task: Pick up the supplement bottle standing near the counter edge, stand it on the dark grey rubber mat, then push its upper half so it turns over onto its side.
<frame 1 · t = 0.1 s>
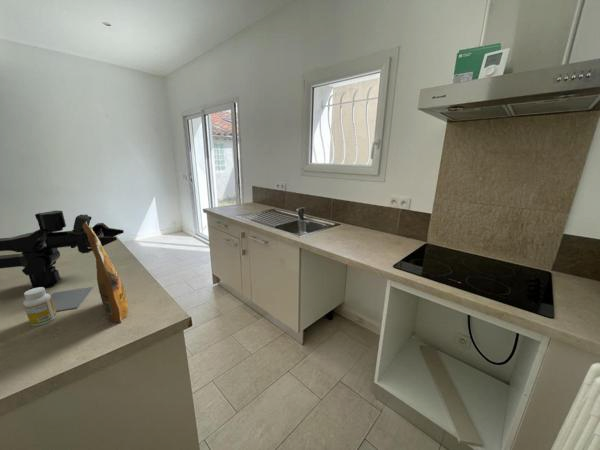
hand: (120, 234, 94), 17 cm above the counter, tool horizontal, fingers open, 9 cm apart
mat: (64, 300, 80), on the counter
supplement bottle: (44, 320, 71), on the counter
pancake mix bag: (115, 310, 76), on the counter
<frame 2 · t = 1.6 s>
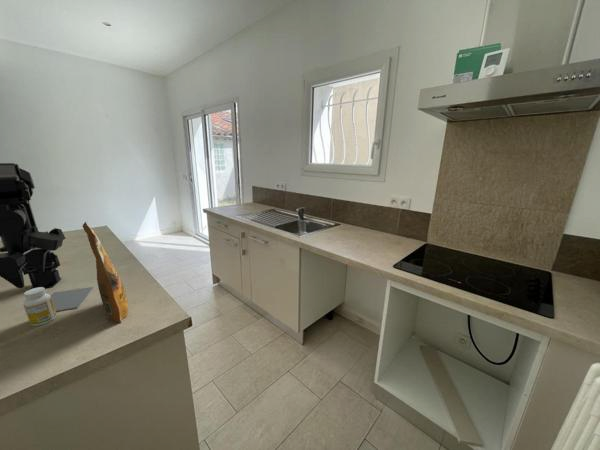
hand: (31, 279, 67), 13 cm above the counter, tool pointing down, fingers open, 9 cm apart
nothing on the counter moved.
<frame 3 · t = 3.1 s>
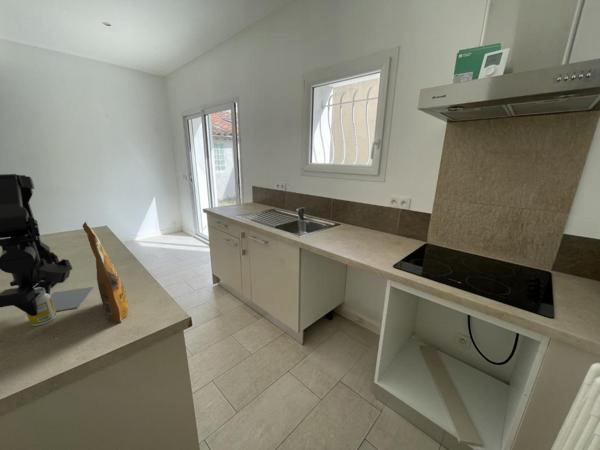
hand: (40, 309, 70), 4 cm above the counter, tool pointing down, fingers closed on supplement bottle, 5 cm apart
supplement bottle: (44, 320, 71), on the counter, touching gripper
everything else where it was.
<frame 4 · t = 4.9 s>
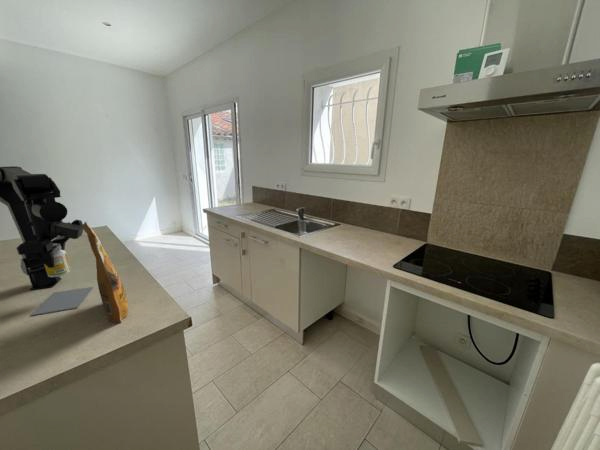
hand: (56, 263, 78), 13 cm above the counter, tool pointing down, fingers closed on supplement bottle, 5 cm apart
supplement bottle: (59, 274, 79), point 9 cm above the counter, touching gripper
everything else where it was.
when the fingers open (5 cm above the counter, at t = 6.7 s): supplement bottle stays where it is, resting on mat.
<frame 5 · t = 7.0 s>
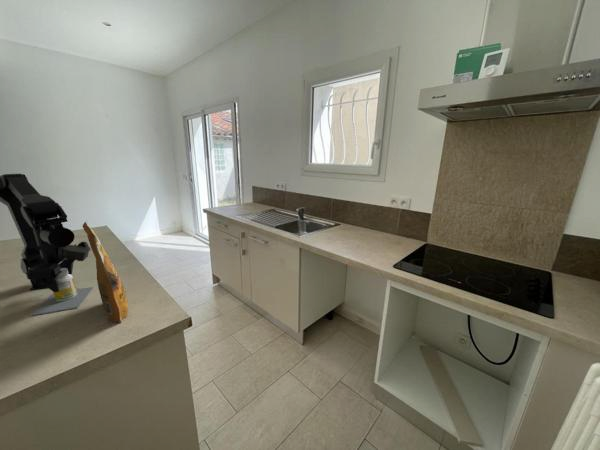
hand: (63, 284, 80), 5 cm above the counter, tool pointing down, fingers open, 8 cm apart
supplement bottle: (67, 297, 81), resting on mat
everything else where it was.
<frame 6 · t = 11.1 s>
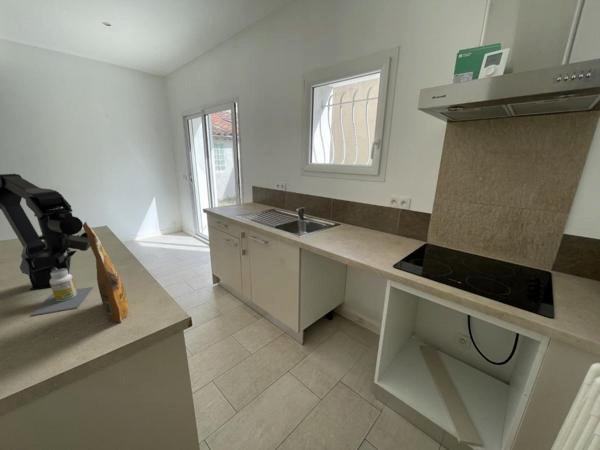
hand: (66, 274, 82), 7 cm above the counter, tool pointing down, fingers closed
supplement bottle: (66, 297, 81), resting on mat, touching gripper
everything else where it was.
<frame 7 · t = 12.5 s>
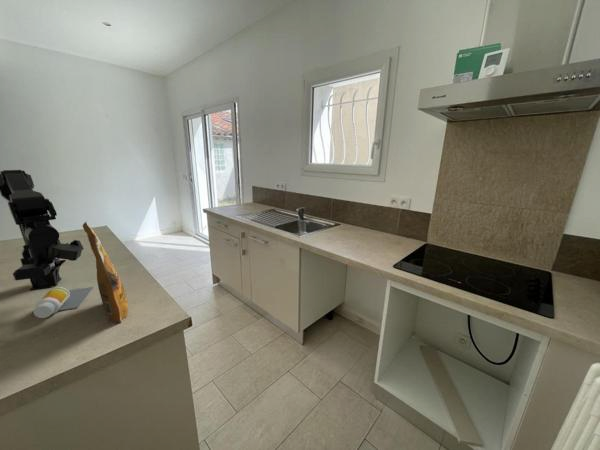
hand: (54, 286, 75), 7 cm above the counter, tool pointing down, fingers closed
supplement bottle: (59, 293, 78), point 3 cm above the counter, touching mat
everything else where it was.
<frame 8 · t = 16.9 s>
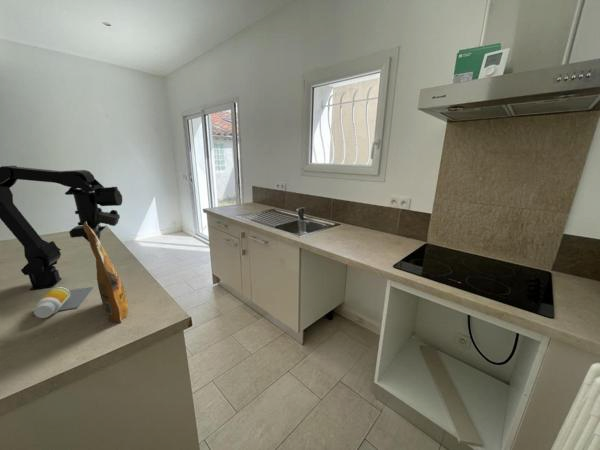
hand: (96, 247, 90), 13 cm above the counter, tool pointing down, fingers closed
nothing on the counter moved.
at the end: supplement bottle tilted 90°; supplement bottle inside the target area (4.2 cm from its centre), point 3.1 cm above the counter; the gripper is holding nothing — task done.
